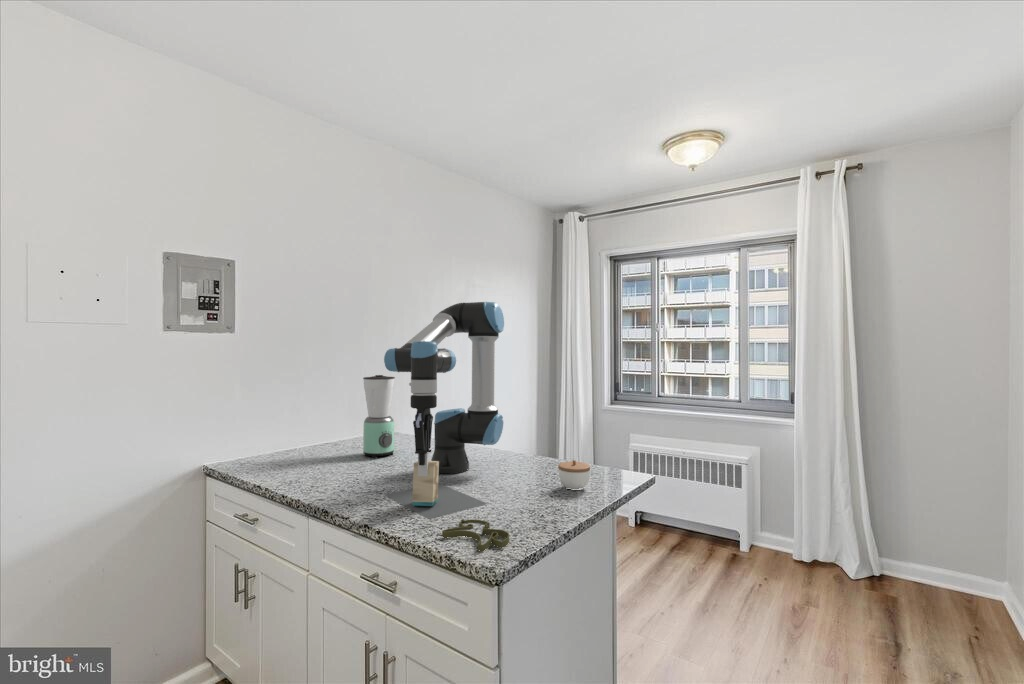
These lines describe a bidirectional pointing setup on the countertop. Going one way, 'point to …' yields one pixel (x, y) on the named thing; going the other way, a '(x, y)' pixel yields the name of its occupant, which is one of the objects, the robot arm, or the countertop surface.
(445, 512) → the charcoal mat
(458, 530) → the cookie cutter
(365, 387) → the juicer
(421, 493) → the maple block
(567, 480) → the lidded jar
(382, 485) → the countertop surface
